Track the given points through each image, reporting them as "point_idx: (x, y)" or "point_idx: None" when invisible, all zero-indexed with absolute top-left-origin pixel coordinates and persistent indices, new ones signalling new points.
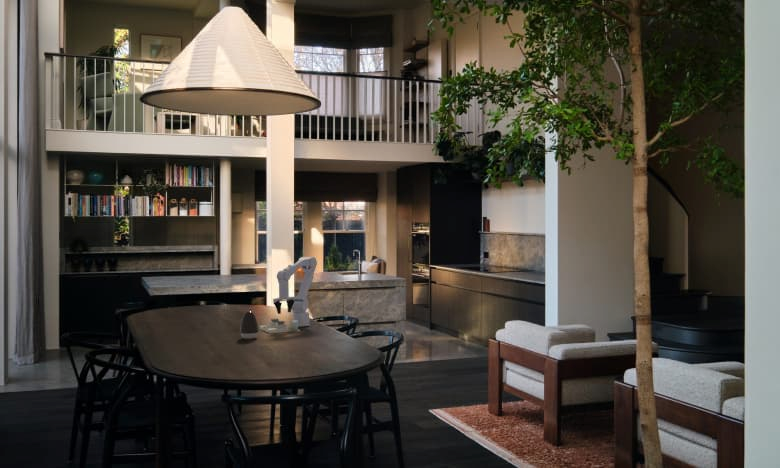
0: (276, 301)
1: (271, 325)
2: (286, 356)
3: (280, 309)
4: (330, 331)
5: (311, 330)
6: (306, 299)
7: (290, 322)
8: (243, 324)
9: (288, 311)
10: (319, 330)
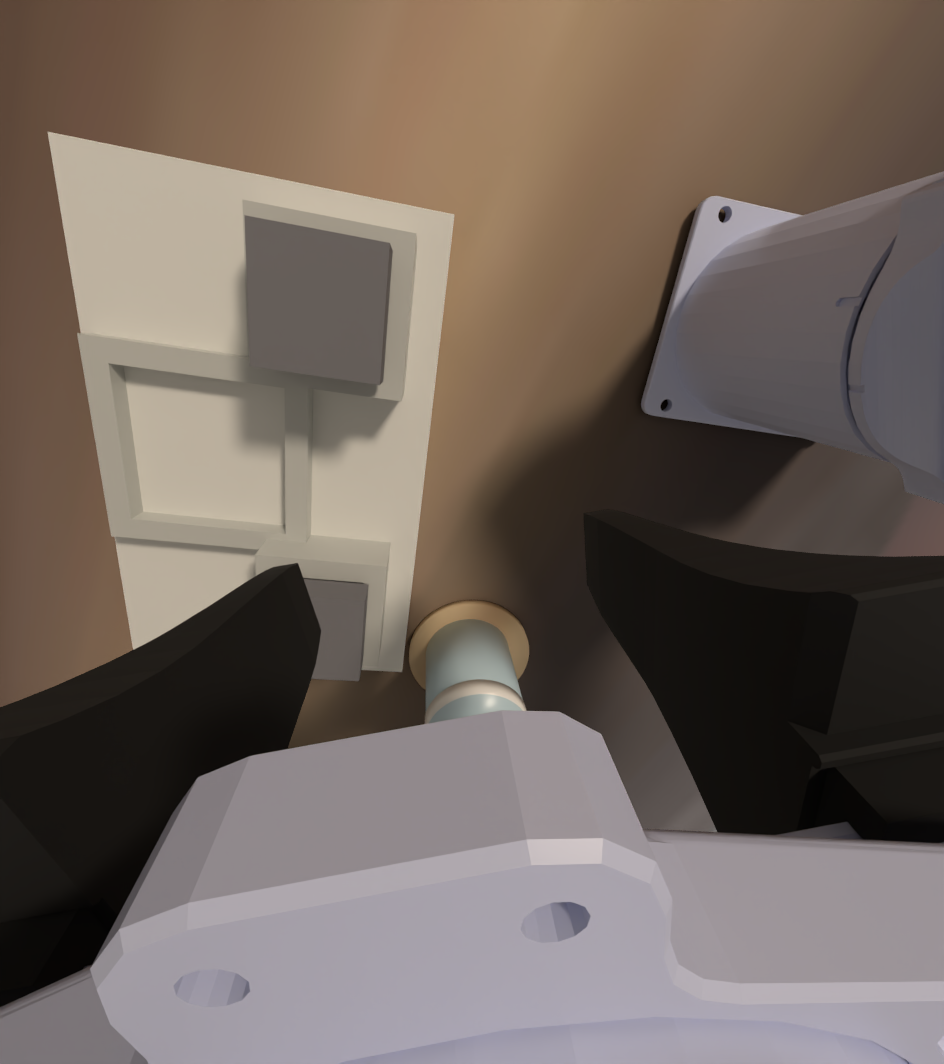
0: None
1: (246, 380)
2: None
3: (284, 728)
4: (688, 813)
5: (616, 702)
6: None
7: (426, 715)
8: None
9: (591, 538)
10: (665, 737)
